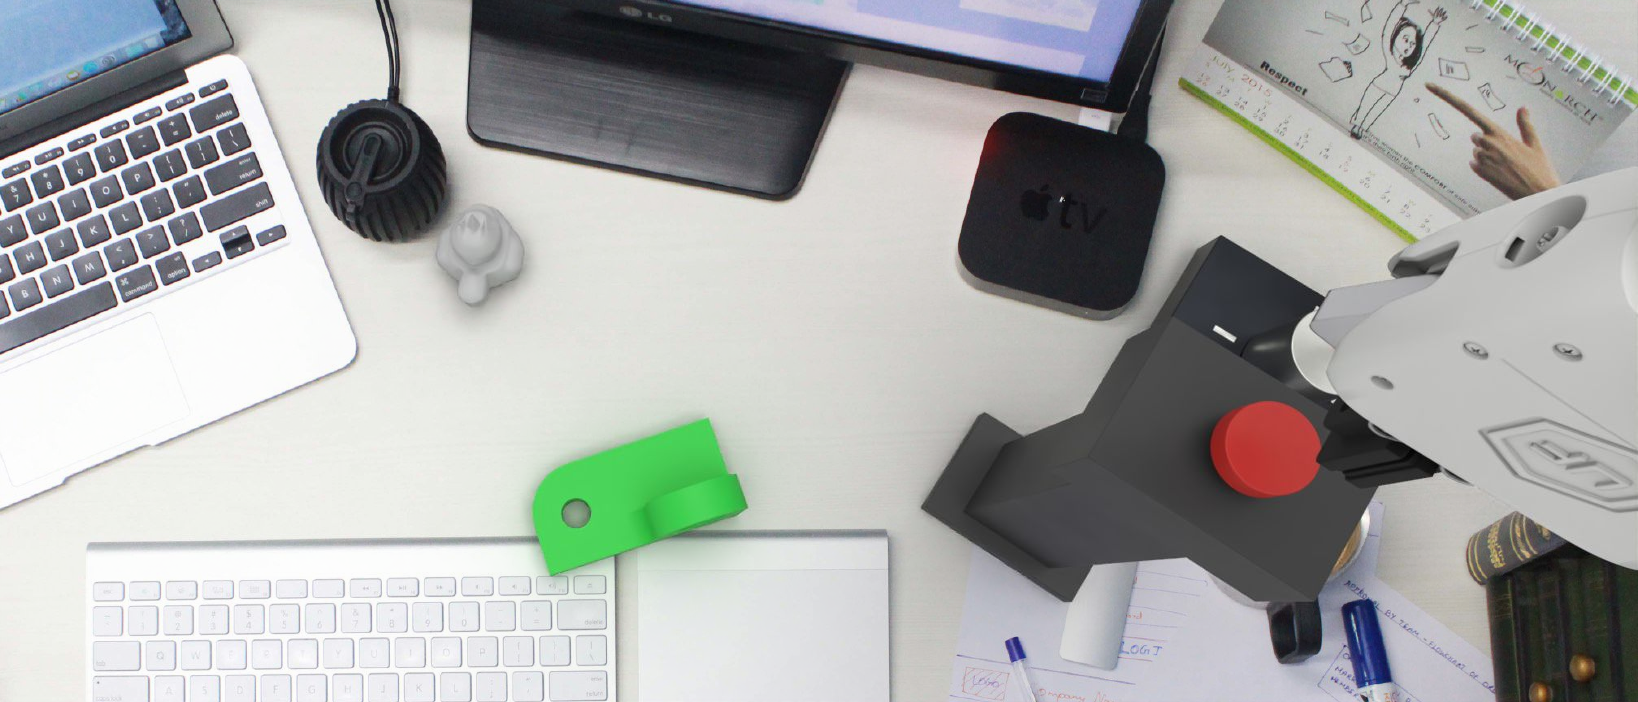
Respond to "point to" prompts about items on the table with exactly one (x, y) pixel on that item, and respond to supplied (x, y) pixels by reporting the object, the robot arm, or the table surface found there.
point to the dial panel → (1236, 296)
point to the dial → (1294, 358)
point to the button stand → (1148, 481)
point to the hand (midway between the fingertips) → (1355, 438)
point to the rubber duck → (480, 252)
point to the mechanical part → (636, 496)
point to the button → (1265, 449)
